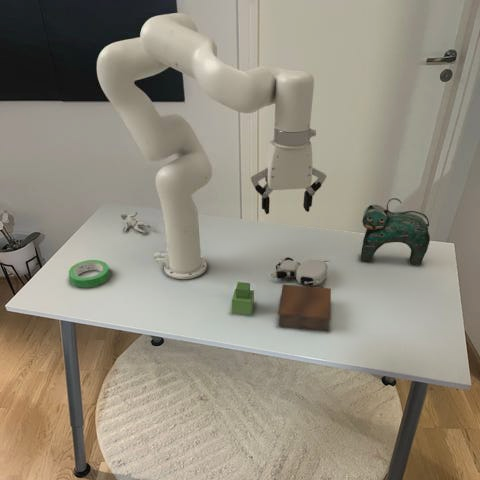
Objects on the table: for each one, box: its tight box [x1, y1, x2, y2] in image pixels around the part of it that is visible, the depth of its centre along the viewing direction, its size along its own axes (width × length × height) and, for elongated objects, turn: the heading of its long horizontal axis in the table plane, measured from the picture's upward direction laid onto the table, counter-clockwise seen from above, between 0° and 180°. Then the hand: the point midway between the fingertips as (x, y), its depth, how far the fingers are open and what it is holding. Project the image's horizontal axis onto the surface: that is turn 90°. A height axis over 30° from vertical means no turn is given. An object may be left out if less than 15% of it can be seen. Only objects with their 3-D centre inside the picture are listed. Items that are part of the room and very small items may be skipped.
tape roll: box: [68, 259, 111, 289], centre depth 133 cm, size 11×11×3 cm
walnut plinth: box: [277, 284, 332, 332], centre depth 118 cm, size 13×13×4 cm
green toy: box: [231, 281, 255, 316], centre depth 119 cm, size 5×5×7 cm
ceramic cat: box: [360, 197, 431, 266], centre depth 134 cm, size 20×6×20 cm, turn 80°
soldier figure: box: [120, 211, 151, 235], centre depth 156 cm, size 8×5×12 cm
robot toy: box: [270, 256, 331, 287], centre depth 132 cm, size 12×4×15 cm
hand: (286, 210), depth 110 cm, fingers open, 9 cm apart
